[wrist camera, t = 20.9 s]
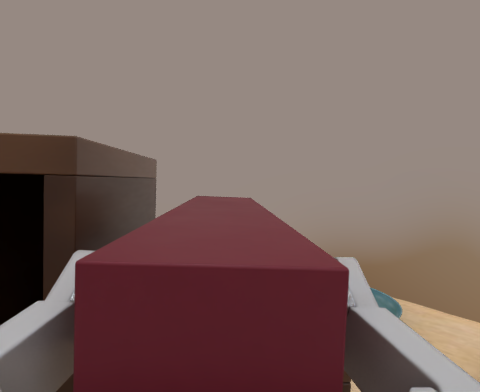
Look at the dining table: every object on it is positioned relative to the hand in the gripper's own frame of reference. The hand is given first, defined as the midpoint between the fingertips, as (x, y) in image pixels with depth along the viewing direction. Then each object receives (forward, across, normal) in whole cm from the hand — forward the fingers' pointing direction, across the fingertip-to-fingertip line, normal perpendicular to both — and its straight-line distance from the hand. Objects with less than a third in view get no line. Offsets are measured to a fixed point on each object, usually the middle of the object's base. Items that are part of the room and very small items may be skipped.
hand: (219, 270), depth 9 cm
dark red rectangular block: (+4, 0, -5) cm, 7 cm away
